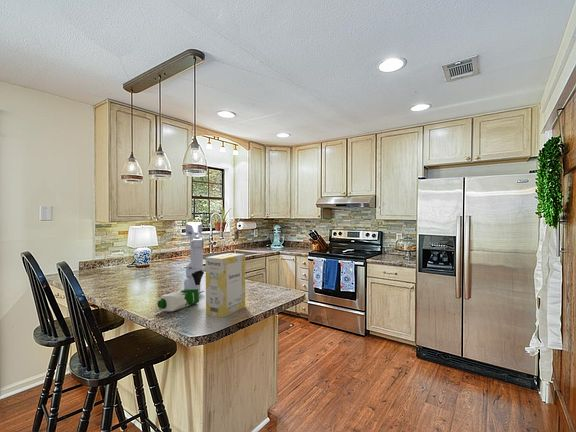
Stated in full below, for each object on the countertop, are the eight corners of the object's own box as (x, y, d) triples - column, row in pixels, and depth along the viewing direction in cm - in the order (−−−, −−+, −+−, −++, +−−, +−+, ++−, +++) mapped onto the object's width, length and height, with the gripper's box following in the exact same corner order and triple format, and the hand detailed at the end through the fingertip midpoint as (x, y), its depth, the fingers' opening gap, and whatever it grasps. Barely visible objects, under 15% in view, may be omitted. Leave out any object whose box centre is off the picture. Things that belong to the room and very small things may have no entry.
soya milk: (187, 287, 166) (156, 295, 149) (199, 287, 162) (168, 295, 145) (189, 303, 166) (157, 313, 148) (200, 303, 161) (169, 313, 144)
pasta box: (222, 317, 141) (222, 258, 140) (206, 314, 146) (205, 257, 145) (245, 306, 157) (245, 254, 157) (229, 304, 162) (229, 252, 161)
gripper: (195, 262, 156) (195, 288, 156) (211, 258, 170) (211, 282, 170) (184, 262, 158) (184, 287, 159) (200, 258, 172) (200, 281, 172)
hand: (197, 284), depth 164 cm, fingers closed
